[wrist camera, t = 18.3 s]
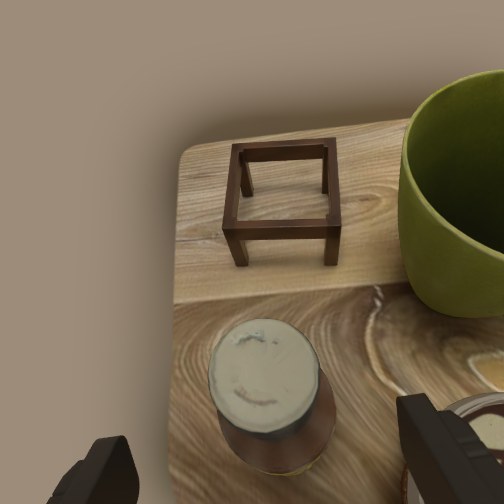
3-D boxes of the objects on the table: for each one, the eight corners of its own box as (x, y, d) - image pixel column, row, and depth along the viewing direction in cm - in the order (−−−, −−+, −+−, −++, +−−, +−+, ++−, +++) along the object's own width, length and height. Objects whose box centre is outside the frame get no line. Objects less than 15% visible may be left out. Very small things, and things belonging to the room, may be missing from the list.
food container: (382, 398, 30) (410, 371, 21) (466, 410, 29) (531, 386, 20) (384, 599, 24) (423, 672, 16) (489, 624, 23) (594, 718, 14)
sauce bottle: (289, 495, 28) (249, 541, 11) (232, 429, 31) (129, 382, 13) (344, 427, 29) (387, 374, 12) (286, 371, 32) (255, 263, 15)
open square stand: (236, 266, 38) (221, 228, 32) (243, 188, 43) (232, 143, 37) (336, 265, 36) (341, 225, 30) (332, 184, 41) (335, 136, 35)
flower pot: (567, 251, 34) (740, 104, 20) (520, 399, 29) (711, 338, 15) (405, 192, 39) (453, 46, 26) (340, 308, 34) (359, 202, 20)
